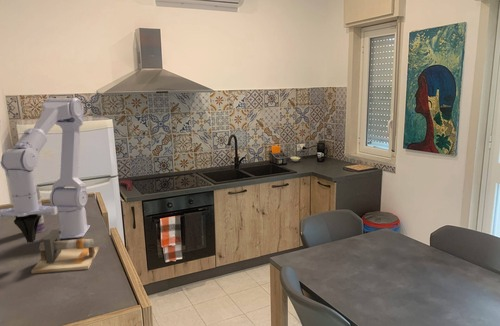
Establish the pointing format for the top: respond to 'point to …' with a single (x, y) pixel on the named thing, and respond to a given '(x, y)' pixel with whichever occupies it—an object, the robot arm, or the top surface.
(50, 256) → the collar
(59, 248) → the pipe stand
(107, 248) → the top surface
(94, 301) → the top surface
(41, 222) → the container
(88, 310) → the top surface
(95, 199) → the top surface
